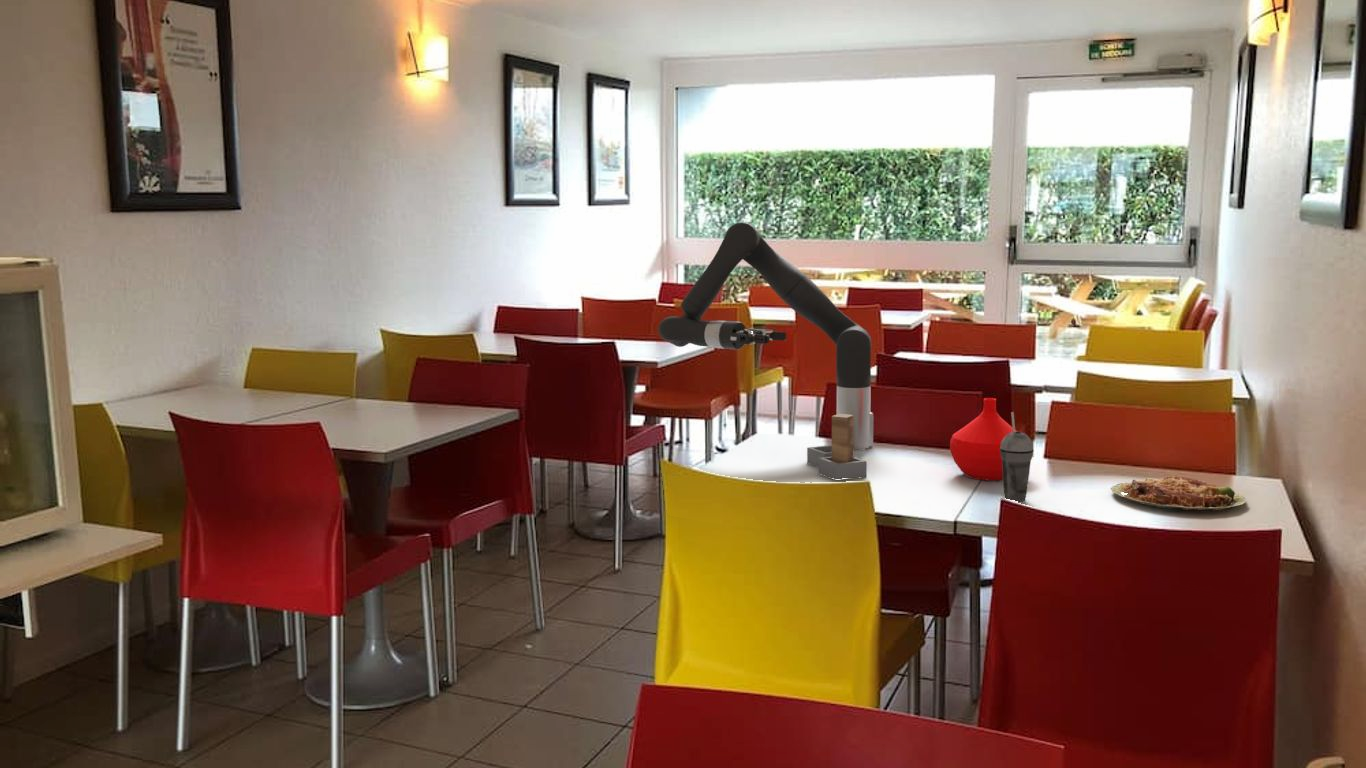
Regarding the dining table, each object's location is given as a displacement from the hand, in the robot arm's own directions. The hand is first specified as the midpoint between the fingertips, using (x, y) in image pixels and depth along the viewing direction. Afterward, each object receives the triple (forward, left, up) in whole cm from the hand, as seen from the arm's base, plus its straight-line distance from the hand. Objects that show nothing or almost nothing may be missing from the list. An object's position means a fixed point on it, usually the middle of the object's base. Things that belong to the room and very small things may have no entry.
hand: (777, 337), depth 289 cm
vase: (-35, +42, -32) cm, 64 cm away
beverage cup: (-25, +63, -32) cm, 75 cm away
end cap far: (-8, +13, -32) cm, 36 cm away
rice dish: (-57, +79, -33) cm, 103 cm away
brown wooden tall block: (-4, +25, -31) cm, 40 cm away
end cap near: (-4, +25, -32) cm, 41 cm away
